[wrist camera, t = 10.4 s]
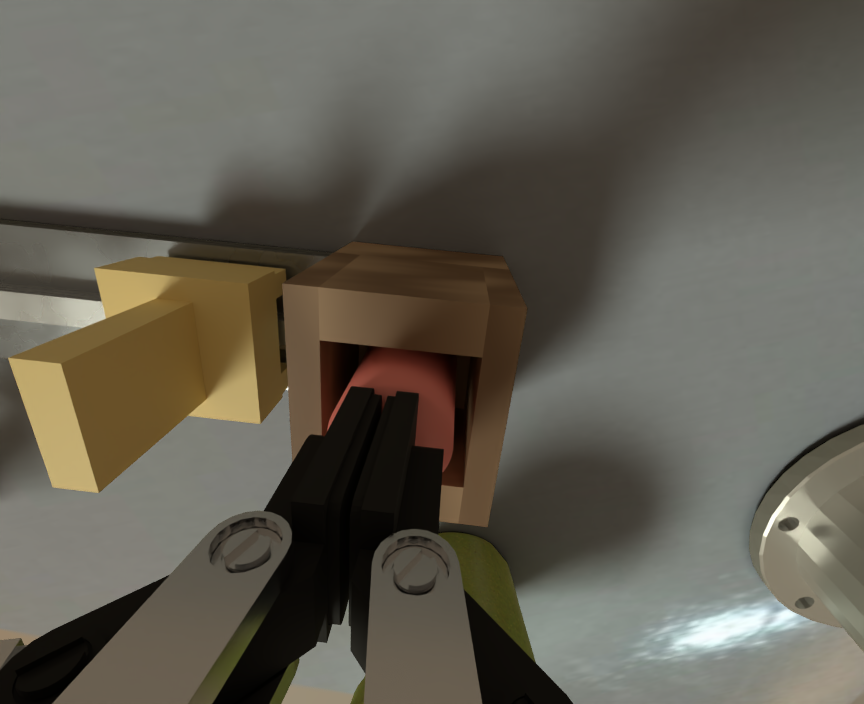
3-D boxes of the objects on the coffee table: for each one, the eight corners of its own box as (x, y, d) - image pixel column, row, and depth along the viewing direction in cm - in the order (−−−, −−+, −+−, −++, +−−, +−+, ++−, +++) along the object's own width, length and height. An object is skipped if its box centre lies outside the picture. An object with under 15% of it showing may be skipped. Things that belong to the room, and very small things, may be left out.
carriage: (285, 264, 16) (137, 339, 9) (291, 385, 18) (177, 525, 11) (157, 252, 16) (-90, 314, 9) (178, 372, 18) (-9, 503, 11)
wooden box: (503, 256, 16) (527, 308, 10) (480, 409, 19) (487, 527, 13) (352, 241, 17) (282, 283, 10) (351, 395, 19) (294, 504, 13)
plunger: (461, 323, 14) (460, 393, 10) (451, 404, 16) (446, 499, 11) (369, 314, 15) (325, 378, 10) (367, 394, 16) (327, 484, 11)
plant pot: (560, 520, 22) (617, 723, 14) (519, 637, 25) (545, 851, 17) (380, 491, 22) (332, 677, 14) (366, 612, 25) (321, 813, 17)
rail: (340, 252, 17) (305, 274, 13) (340, 384, 19) (311, 433, 16) (-108, 208, 17) (-260, 217, 14) (-55, 341, 20) (-172, 378, 16)
